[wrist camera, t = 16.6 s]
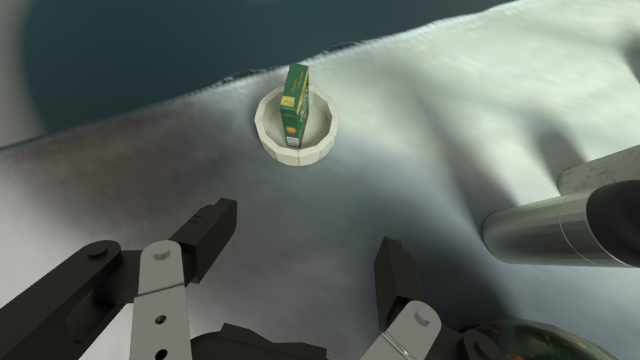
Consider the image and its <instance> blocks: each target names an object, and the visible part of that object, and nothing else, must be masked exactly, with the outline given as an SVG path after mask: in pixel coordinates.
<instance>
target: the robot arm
mask: <svg viewBox="0 0 640 360" xmlns="http://www.w3.org/2000/svg"><path fill="white" fill-rule="evenodd" d="M236 223H237V201H235V200H231V199H226V198H221V199H220V200H219V201H218V202H217V203H216V204H215V205H210V204H209V205H207V206H205V207H203V208H201V209H200V210H199V211H197V212H196V213H195V214H194V216H192V217H191V218H190V219H189V220H188V222H186V223H185V224H184V225H183V226H182V227H181V228H180V229H179V230H178V231H177V232H176V233H175V234H174V235H173V236H172V237H171V238H170V239H169V240H165V241H159V242H156V243H153V244H151V245H149V246H148V247H146V248H145V249H144V250H127V251H121V247H120V245H119V243H117V242H115V241H111V240H103V241H97V242H94V243H91V244H88V245H86V246H84V247H83V248H81V249H80V250H78V251H77V252H76V253H74V254H73V255H72V256H70V257H69V258H68V259H66V260H65V261H64V262H62V263H61V264H60V265H58V266H57V267H56V268H54V269H53V270H52V271H50V272H49V273H48V274H46V275H45V276H44V277H42V278H41V279H40V280H38V281H37V282H35V283H34V284H33V285H31V286H30V287H29V288H27V289H26V290H25V291H23V292H22V293H21V294H19V295H18V296H17V297H15V298H14V299H13V300H11V301H10V302H9V303H7V304H6V305H5V306H3V307H2V308H1V309H0V360H78V359H79V358H80V357H81V356H82V355H83V354H84V352H85V351H86V350H87V349H88V348H89V347H90V345H91V344H92V343H93V342H94V341H95V340H96V338H97V337H98V336H99V335H100V334H101V333H102V331H103V330H104V329H105V328H106V327H107V326H108V324H109V323H110V322H111V321H112V320H113V319H114V317H115V316H116V315H117V314H118V313H119V312H120V310H121V309H122V308H123V307H124V306H125V305H126V304H127V303H134V308H133V320H132V332H131V345H130V357H129V360H329V359H327V358H326V353H327V349H326V348H322V347H318V346H314V345H310V344H306V343H302V342H296V343H272V342H270V341H269V340H267V339H265V338H263V337H262V336H260V335H258V334H257V333H255V332H253V331H252V330H250V329H247V328H243V327H239V326H235V325H231V324H227V323H224V325H223V327H222V329H221V331H217V332H210V333H206V334H203V335H200V336H197V337H195V338H193V339H191V340H190V332H189V323H188V313H187V303H186V294H185V288H186V287H187V285H188V284H189V283H190V282H192V283H196V284H199V283H200V281H201V280H202V278H203V277H204V275H205V274H206V272H207V271H208V270H209V268H210V267H211V265H212V264H213V262H214V261H215V260H216V258H217V257H218V255H219V254H220V252H221V251H222V250H223V248H224V247H225V245H226V244H227V242H228V241H229V240H230V238H231V237H232V235H233V233H234V231H235V228H236ZM482 233H483V239H484V242H485V244H486V246H487V248H488V249H489V251H490V252H491V253H492V254H493V255H494V256H495V257H496V258H498V259H499V260H501V261H503V262H506V263H510V264H531V265H558V266H588V267H623V268H640V180H639V179H635V180H625V181H620V182H616V183H612V184H608V185H603V186H599V187H595V188H591V189H587V190H583V191H579V192H575V193H571V194H567V195H563V196H559V197H555V198H551V199H547V200H543V201H538V202H534V203H530V204H526V205H522V206H518V207H514V208H509V209H505V210H501V211H497V212H494V213H492V214H490V215H489V216H488V217H487V218H486V220H485V221H484V224H483V230H482ZM374 273H375V284H376V296H377V308H378V319H379V330H382V331H386V332H385V333H384V332H383V333H382V334H381V335H380V336H379V337H378V338H377V340H376V341H375V342H374V343H373V345H372V346H371V347H370V348H369V350H368V351H367V352H366V353H365V355H364V356H363V357H362V358H361V359H360V360H505V358H504V356H503V354H502V352H501V350H500V349H499V347H498V346H497V345H496V344H495V343H494V342H493V341H492V340H491V339H490V338H489V337H487V336H486V335H484V334H483V333H481V332H478V331H475V330H469V331H467V332H466V333H465V334H464V335H462V334H460V333H458V332H456V331H455V330H453V329H451V328H449V327H447V326H446V325H444V324H442V323H441V321H440V318H439V316H438V315H437V313H436V312H435V311H434V310H433V309H432V308H431V307H430V306H429V305H427V301H426V298H425V294H424V291H423V287H422V284H421V280H420V278H419V274H418V271H417V267H416V263H415V260H414V259H413V257H412V256H411V255H410V253H409V252H406V251H403V249H402V245H401V241H400V240H398V239H394V238H390V237H384V239H383V241H382V244H381V246H380V249H379V251H378V254H377V256H376V259H375V265H374Z"/></svg>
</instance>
